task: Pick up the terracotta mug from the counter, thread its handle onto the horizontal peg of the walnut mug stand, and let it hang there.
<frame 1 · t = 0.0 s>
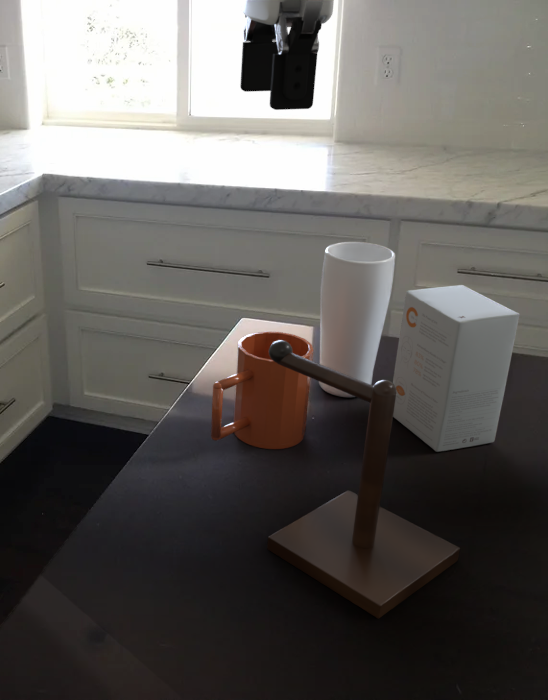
hand: (273, 99, 70), 31 cm above the table, tool pointing down, fingers open, 9 cm apart
mug: (268, 431, 83), on the table
mug stand: (361, 555, 66), on the table
small box: (438, 429, 83), on the table
drinking glass: (343, 389, 91), on the table
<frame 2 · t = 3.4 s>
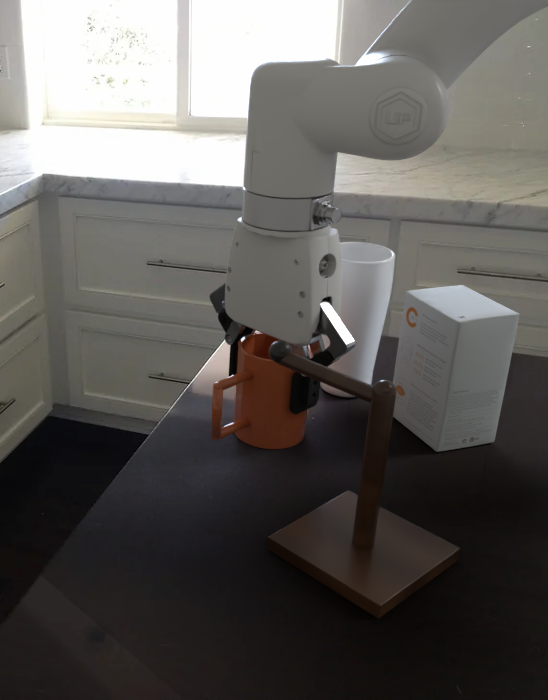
hand: (271, 393, 81), 4 cm above the table, tool pointing down, fingers closed on mug, 6 cm apart
mug: (268, 431, 83), on the table, touching gripper
everything else where it was.
when the fingers open (11 cm above the table, at t = 9.6 s): mug drops 2 cm and tips over, resting on mug stand.
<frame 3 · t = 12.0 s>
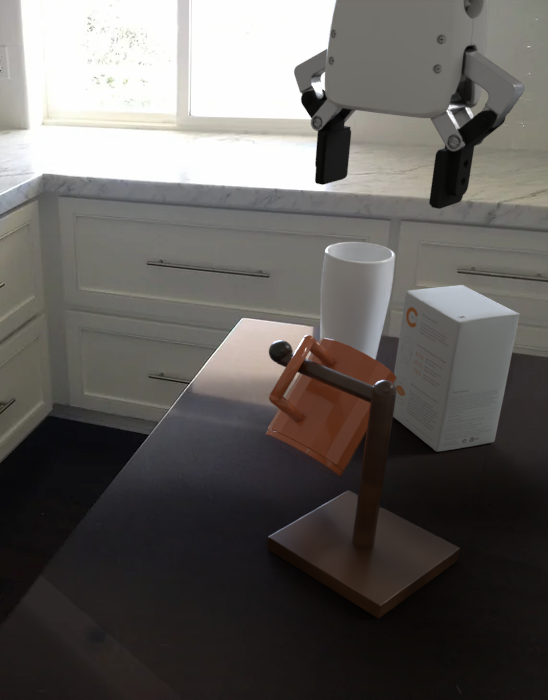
hand: (385, 192, 64), 26 cm above the table, tool pointing down, fingers open, 9 cm apart
mug: (302, 455, 69), point 5 cm above the table, tilted 42°, touching mug stand
everything else where it was.
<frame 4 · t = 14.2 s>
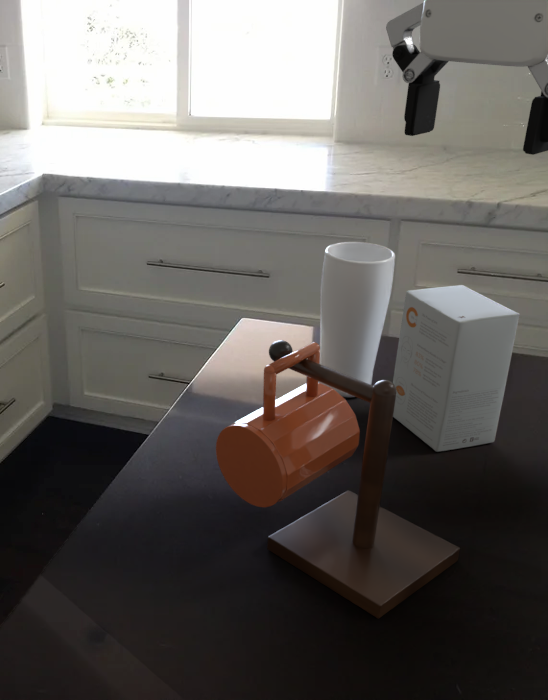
hand: (475, 141, 67), 28 cm above the table, tool pointing down, fingers open, 9 cm apart
mug: (247, 466, 65), point 7 cm above the table, tilted 86°, touching mug stand
everything else where it was.
at the end: mug touching mug stand; mug point 6.7 cm above the table; mug 8.9 cm from the mug stand (horizontally) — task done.
